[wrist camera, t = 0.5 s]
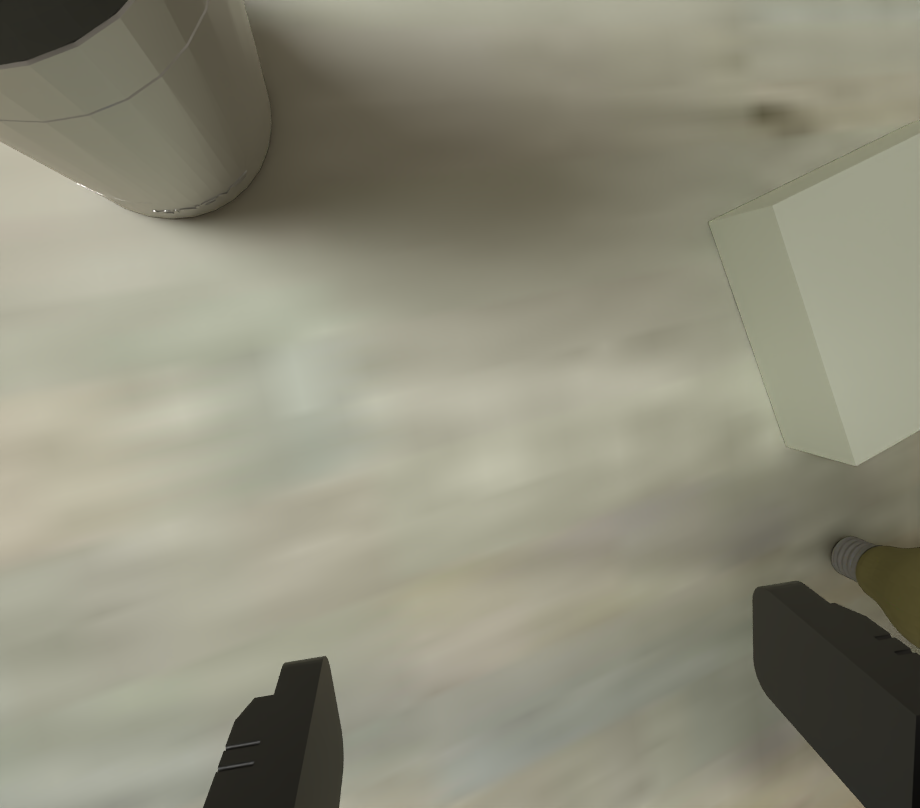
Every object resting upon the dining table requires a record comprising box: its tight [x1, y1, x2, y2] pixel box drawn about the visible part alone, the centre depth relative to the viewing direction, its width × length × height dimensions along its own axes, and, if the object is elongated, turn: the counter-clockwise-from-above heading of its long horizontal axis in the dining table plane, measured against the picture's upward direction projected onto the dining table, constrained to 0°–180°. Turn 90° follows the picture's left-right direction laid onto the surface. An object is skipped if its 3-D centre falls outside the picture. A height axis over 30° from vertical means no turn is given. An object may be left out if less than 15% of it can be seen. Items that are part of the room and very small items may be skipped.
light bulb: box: [831, 536, 920, 648], centre depth 33 cm, size 6×6×10 cm
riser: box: [708, 120, 920, 466], centre depth 33 cm, size 14×14×5 cm
